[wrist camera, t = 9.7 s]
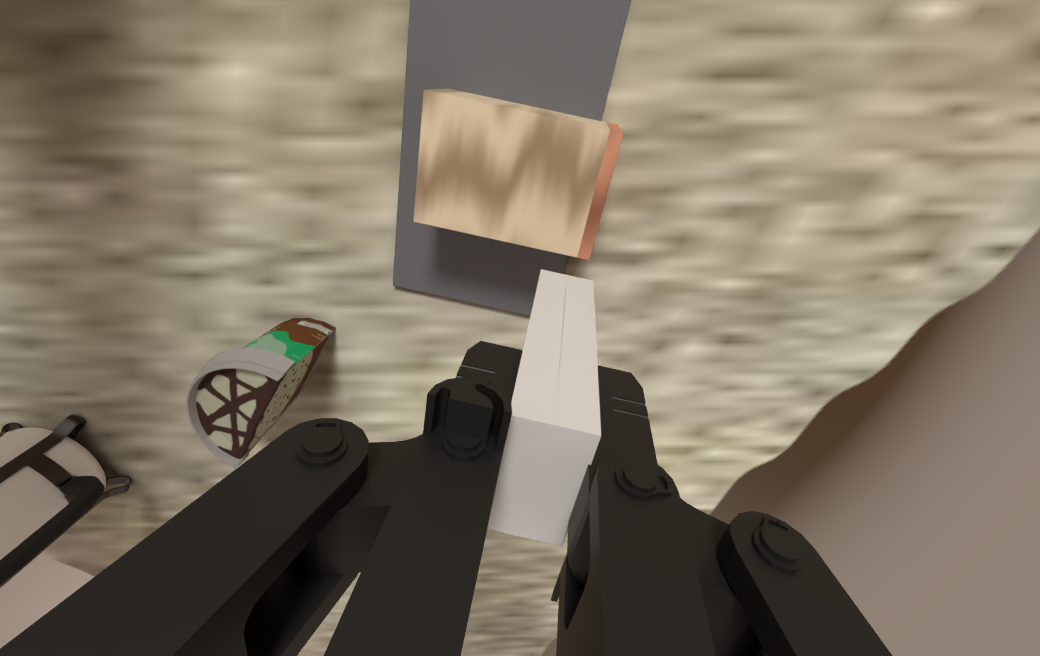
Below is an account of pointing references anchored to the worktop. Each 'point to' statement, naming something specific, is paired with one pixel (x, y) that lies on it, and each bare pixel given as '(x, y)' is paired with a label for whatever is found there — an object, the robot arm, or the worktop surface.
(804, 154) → the worktop surface
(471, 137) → the maple block
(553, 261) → the rubber mat
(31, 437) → the coffee press
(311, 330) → the food container
